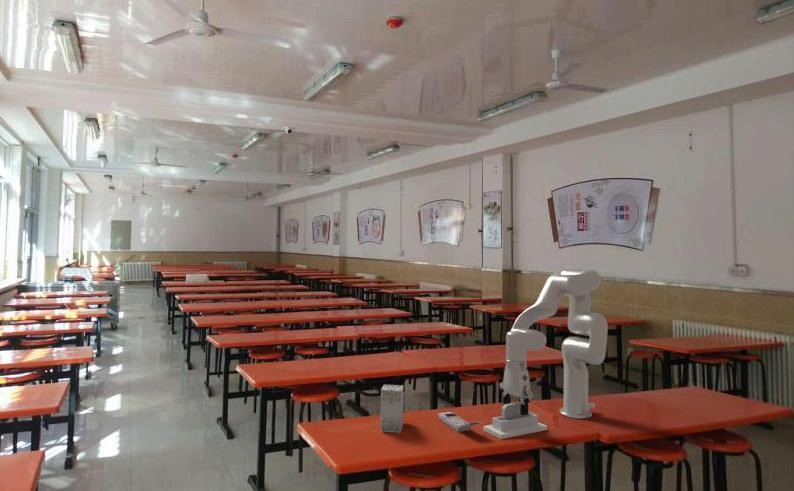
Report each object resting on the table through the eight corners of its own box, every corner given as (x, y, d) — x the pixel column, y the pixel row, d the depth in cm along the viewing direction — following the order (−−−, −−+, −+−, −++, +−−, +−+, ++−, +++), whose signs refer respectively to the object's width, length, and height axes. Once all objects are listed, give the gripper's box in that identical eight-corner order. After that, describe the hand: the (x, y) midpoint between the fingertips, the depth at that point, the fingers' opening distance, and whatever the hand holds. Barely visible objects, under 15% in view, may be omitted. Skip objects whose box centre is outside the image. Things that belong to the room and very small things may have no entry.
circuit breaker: (404, 419, 197) (404, 381, 198) (400, 432, 183) (401, 391, 184) (385, 418, 198) (385, 380, 198) (380, 431, 184) (381, 390, 184)
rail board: (528, 421, 198) (528, 409, 198) (546, 429, 189) (546, 416, 189) (483, 430, 187) (483, 416, 187) (500, 439, 178) (501, 424, 179)
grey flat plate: (501, 425, 186) (501, 404, 186) (526, 421, 192) (526, 400, 192) (504, 427, 185) (504, 405, 185) (529, 422, 190) (529, 401, 190)
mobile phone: (468, 423, 178) (435, 403, 201) (467, 440, 178) (434, 418, 201) (482, 421, 180) (448, 401, 203) (482, 438, 180) (448, 416, 203)
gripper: (540, 368, 183) (539, 416, 182) (508, 359, 198) (507, 403, 198) (524, 370, 179) (523, 419, 179) (493, 360, 194) (492, 405, 194)
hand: (515, 410), depth 188 cm, fingers open, 9 cm apart
